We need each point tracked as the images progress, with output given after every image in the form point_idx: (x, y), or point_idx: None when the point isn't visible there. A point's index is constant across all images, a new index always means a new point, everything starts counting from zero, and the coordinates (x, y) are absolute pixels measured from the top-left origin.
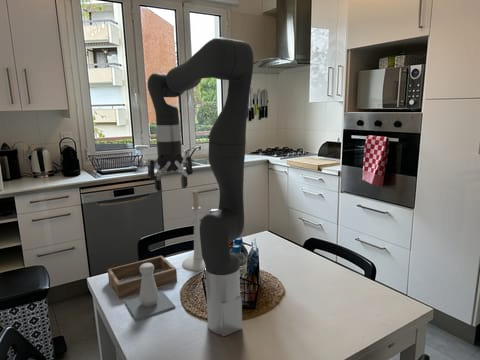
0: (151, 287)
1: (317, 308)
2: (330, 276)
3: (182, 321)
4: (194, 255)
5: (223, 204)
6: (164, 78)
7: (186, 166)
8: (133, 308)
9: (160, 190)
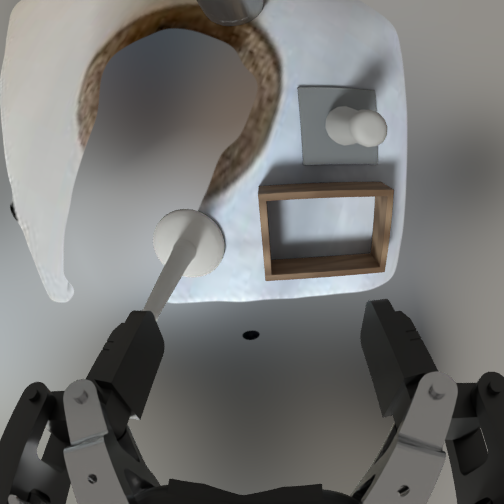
0: (350, 110)
1: (84, 11)
2: (21, 97)
3: (299, 42)
4: (192, 253)
5: None
6: None
7: (60, 473)
8: None
9: (379, 303)
